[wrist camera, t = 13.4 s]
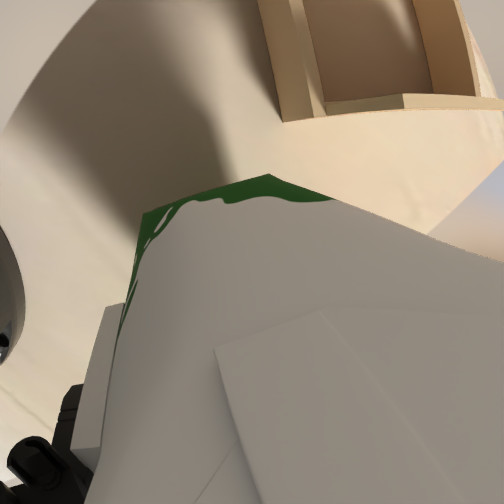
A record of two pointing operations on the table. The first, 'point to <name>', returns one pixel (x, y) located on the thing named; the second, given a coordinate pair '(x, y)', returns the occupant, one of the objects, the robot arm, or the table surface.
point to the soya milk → (302, 359)
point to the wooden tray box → (443, 98)
